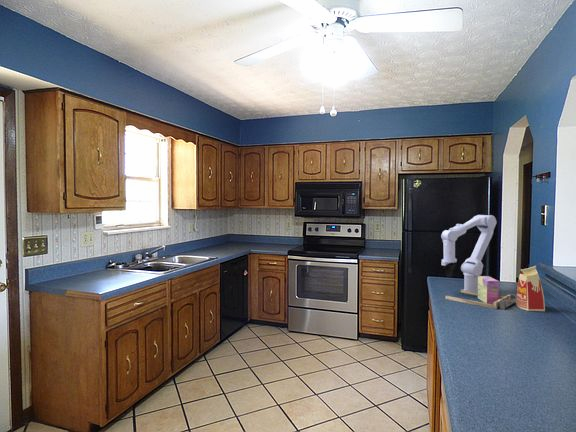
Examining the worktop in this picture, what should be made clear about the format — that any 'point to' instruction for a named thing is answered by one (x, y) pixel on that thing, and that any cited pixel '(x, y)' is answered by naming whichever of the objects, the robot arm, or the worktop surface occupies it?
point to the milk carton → (530, 291)
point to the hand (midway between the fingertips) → (449, 276)
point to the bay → (501, 303)
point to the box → (488, 289)
